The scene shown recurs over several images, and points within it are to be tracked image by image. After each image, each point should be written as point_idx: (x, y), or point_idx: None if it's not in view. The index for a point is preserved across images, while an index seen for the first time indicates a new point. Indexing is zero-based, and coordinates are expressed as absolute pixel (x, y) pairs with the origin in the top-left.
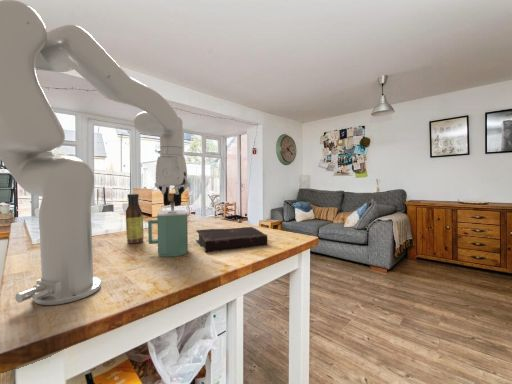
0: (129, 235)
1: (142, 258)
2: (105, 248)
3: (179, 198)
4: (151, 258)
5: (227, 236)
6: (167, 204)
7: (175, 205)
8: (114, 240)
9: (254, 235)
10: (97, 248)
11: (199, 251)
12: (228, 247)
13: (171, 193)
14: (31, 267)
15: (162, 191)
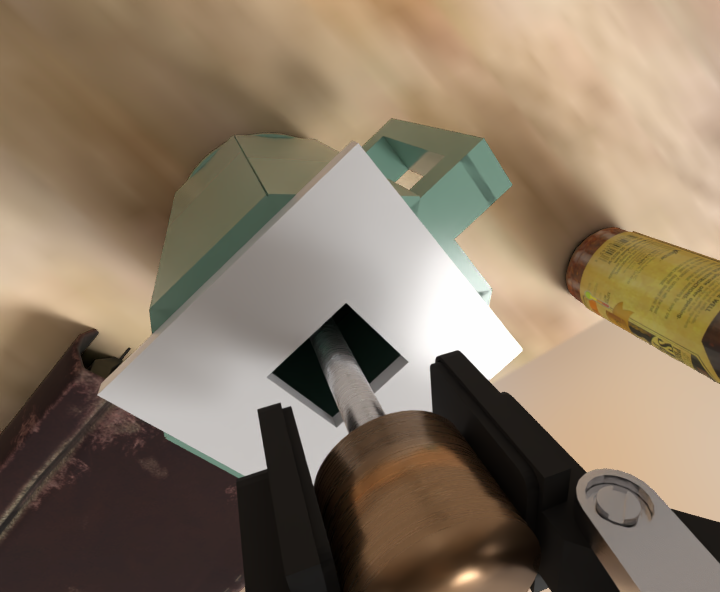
0: (642, 239)
1: (360, 48)
2: (669, 106)
3: (245, 556)
4: (308, 74)
5: (43, 529)
6: (436, 396)
7: (265, 408)
8: (704, 233)
9: None
10: (705, 86)
11: (142, 323)
12: None
13: (452, 579)
14: None
15: (652, 514)
